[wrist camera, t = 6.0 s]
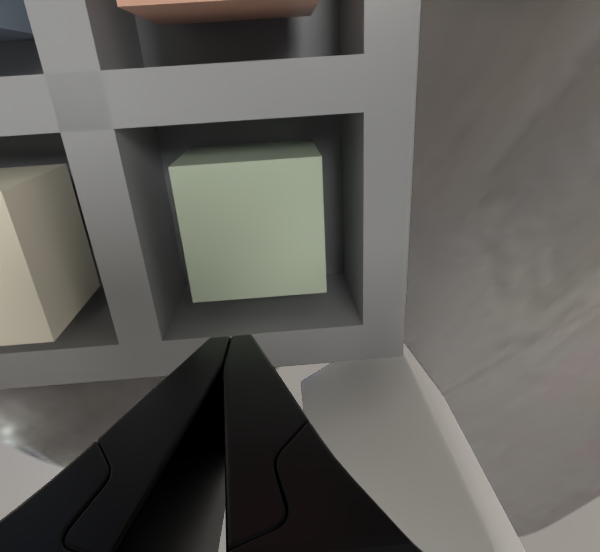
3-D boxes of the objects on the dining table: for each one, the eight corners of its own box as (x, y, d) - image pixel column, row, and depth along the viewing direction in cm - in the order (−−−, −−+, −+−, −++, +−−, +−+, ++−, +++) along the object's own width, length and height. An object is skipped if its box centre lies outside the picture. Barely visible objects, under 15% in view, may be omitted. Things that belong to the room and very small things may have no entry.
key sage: (311, 139, 18) (321, 156, 14) (316, 251, 20) (326, 292, 16) (190, 147, 18) (168, 166, 14) (208, 259, 20) (193, 302, 16)
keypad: (382, -268, 14) (443, -459, 9) (374, 294, 22) (403, 356, 17) (-271, -240, 13) (-592, -426, 8) (-25, 325, 22) (-113, 398, 17)
